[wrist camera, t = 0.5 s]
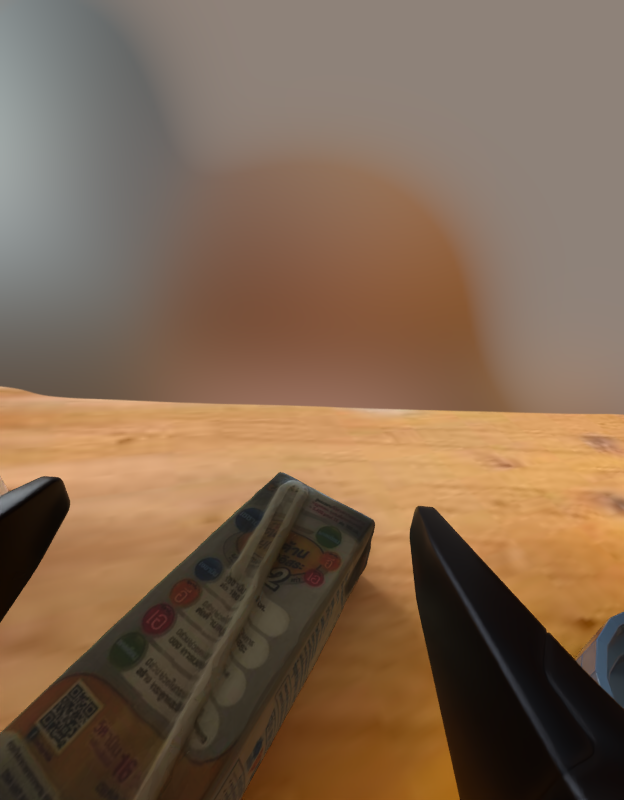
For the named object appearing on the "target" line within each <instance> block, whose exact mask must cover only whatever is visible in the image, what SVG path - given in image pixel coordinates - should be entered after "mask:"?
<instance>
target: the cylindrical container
mask: <svg viewBox="0 0 624 800" xmlns="http://www.w3.org/2000/svg"><path fill="white" fill-rule="evenodd" d="M7 492H9V491H8V489H7V487H6V485H5V484H4V482H3V480H2V478H1V477H0V496H1V495H3V494H5V493H7Z"/></svg>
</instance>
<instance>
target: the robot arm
mask: <svg viewBox="0 0 624 800" xmlns="http://www.w3.org/2000/svg"><path fill="white" fill-rule="evenodd" d="M69 508H70V500H69V497H68V494H67V491H66V488H65V485H64V483H63V481H62V480H61V479H60V478H58V477H48V476H44V477H40V478H38V479H36V480H33V481H31V482H29V483H27V484H25V485H23V486H20V487H18V488H16V489H14V490H12V491H10V492H7V493H5V494H3V495H1V496H0V622H1V621H2V619H3V618H4V616H5V615H6V613H7V612H8V610H9V609H10V607H11V606H12V605H13V603H14V602H15V600H16V599H17V597H18V596H19V594H20V593H21V591H22V590H23V588H24V587H25V585H26V584H27V582H28V581H29V579H30V578H31V576H32V575H33V573H34V572H35V570H36V569H37V567H38V565H39V563H40V562H41V560H42V558H43V557H44V555H45V553H46V551H47V549H48V547H49V546H50V544H51V542H52V540H53V538H54V536H55V535H56V533H57V531H58V529H59V527H60V526H61V524H62V522H63V520H64V518H65V516H66V515H67V513H68V511H69ZM410 545H411V554H412V564H413V573H414V583H415V592H416V600H417V605H418V610H419V615H420V619H421V624H422V628H423V633H424V638H425V642H426V647H427V651H428V656H429V660H430V665H431V669H432V674H433V678H434V683H435V688H436V692H437V697H438V701H439V706H440V710H441V715H442V719H443V724H444V729H445V733H446V738H447V742H448V747H449V751H450V756H451V760H452V765H453V770H454V774H455V779H456V783H457V788H458V792H459V797H460V800H624V708H622V707H621V706H620V705H619V704H618V703H617V702H616V701H615V700H614V699H613V698H612V697H611V696H610V695H609V694H608V693H607V692H606V691H605V690H604V689H603V688H602V687H601V686H600V685H599V684H598V683H597V682H596V681H595V680H594V679H593V678H592V677H591V676H590V675H589V674H588V673H587V672H586V671H585V670H584V669H583V668H582V667H581V666H580V665H579V664H578V663H577V661H576V660H575V659H574V658H573V657H572V656H571V655H570V654H569V653H568V652H567V651H566V650H565V649H564V648H563V647H562V646H561V645H560V643H559V642H558V641H557V640H556V639H555V638H554V637H553V636H552V635H551V634H550V633H546V629H545V627H544V626H543V625H542V624H541V623H540V622H539V621H538V620H537V619H536V618H535V617H534V615H533V614H532V613H531V612H530V611H529V610H528V609H527V608H526V607H525V606H524V605H523V604H522V602H521V601H520V600H519V599H518V598H517V597H516V596H515V595H514V594H513V593H512V592H511V591H510V589H509V588H508V587H507V586H506V585H505V584H504V583H503V582H502V581H501V580H500V579H499V578H498V576H497V575H496V574H495V573H494V572H493V571H492V570H491V569H490V568H489V567H488V566H487V565H486V563H485V562H484V561H483V560H482V559H481V558H480V557H479V556H478V555H477V554H476V553H475V552H474V550H473V549H472V548H471V547H470V546H469V545H468V544H467V543H466V542H465V541H464V540H463V539H462V537H461V536H460V535H459V534H458V533H457V532H456V531H455V530H454V529H453V528H452V527H451V526H450V524H449V523H448V522H447V521H446V520H445V519H444V518H443V517H442V516H441V515H440V514H439V513H438V511H437V510H436V509H434V508H433V507H425V506H418V507H416V509H415V512H414V516H413V520H412V524H411V528H410Z"/></svg>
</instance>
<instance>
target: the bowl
mask: <svg viewBox="0 0 624 800" xmlns="http://www.w3.org/2000/svg"><path fill="white" fill-rule="evenodd" d="M575 660H576V661H577V663H578V664H579V665H580V666H581V667H582V668H583V669H584V670H585V671H586V672H587V673H588V674H589V675H590V676H591V677H592V678H593V679H594V680H595V681H596V682H597V683H598V684H599V685H600V686H601V687H602V688H603V689H604V690H605V691H606V692H607V693H608V694H609V695H610V696H611V697H612V698H613V699H614V700H615V701H616V702H617V703H618V704H619V705H620V706H621V707H622V708H624V612H622V613H620V614H617V615H615V616H613V617H610V618H609V619H608V620H607V622H606V623H605V624H604V625H603V626H602V627H601V628H600V629H599V630H598V631H597V633H596V634H595V635H594V636H593V637H592V638H591V639H590V640H589V641H588V642H587V644H586V645H585V646H584V647H583V648H582V650H581V651H580V653H579V654H578V656H577V657H576V659H575Z"/></svg>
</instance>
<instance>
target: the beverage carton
mask: <svg viewBox="0 0 624 800" xmlns="http://www.w3.org/2000/svg"><path fill="white" fill-rule="evenodd" d="M374 528H375V522H374V520H372V519H371V518H369V517H367V516H365V515H363V514H362V513H360V512H358V511H356V510H354V509H352V508H350V507H348V506H346V505H344V504H342V503H340V502H338V501H336V500H334V499H332V498H330V497H328V496H326V495H325V494H323V493H321V492H319V491H317V490H315V489H313V488H311V487H309V486H307V485H305V484H304V483H302V482H300V481H299V480H297V479H295V478H293V477H291V476H289V475H287V474H285V473H281V472H279V473H278V474H277V475H276V476H275V477H274V478H273V479H272V480H271V481H270V482H269V483H267V484H266V485H265V486H264V487H263V488H262V489H260V490H259V491H258V492H257V493H256V494H255V495H254V496H253V497H252V498H251V499H250V500H249V501H248V502H246V503H245V504H244V505H243V506H242V507H241V508H239V509H238V510H237V511H236V512H235V513H234V514H233V515H232V516H231V517H230V518H229V519H228V520H227V521H226V522H225V523H224V524H222V525H221V526H220V527H219V528H218V529H217V530H216V531H215V532H213V533H212V534H211V535H210V536H209V537H208V538H207V539H206V540H205V541H204V542H203V543H202V544H201V545H200V546H199V547H198V548H197V549H196V550H195V551H194V552H193V553H191V554H190V555H189V556H188V557H187V558H186V559H185V560H184V561H183V562H182V563H180V564H179V565H178V566H177V567H176V568H175V569H174V570H173V571H171V572H170V573H169V574H168V575H167V576H166V577H165V578H164V579H163V580H162V581H161V582H160V583H158V584H157V585H156V586H155V587H154V588H153V589H152V590H151V591H150V592H149V593H148V594H147V595H146V596H145V597H144V598H143V599H142V600H141V601H140V602H139V603H137V604H136V605H135V606H134V607H133V608H132V609H131V610H130V611H129V612H128V613H127V614H126V615H125V616H124V617H122V618H121V619H120V620H119V621H118V622H117V623H116V624H115V625H114V626H113V627H112V628H111V629H110V630H108V631H107V632H106V633H105V634H104V635H103V636H102V637H101V638H100V639H99V640H98V641H97V642H96V643H95V644H94V645H93V646H92V647H91V648H90V649H89V650H88V651H87V652H86V653H85V654H83V655H82V656H81V657H80V658H79V659H78V660H77V661H76V662H75V663H74V664H73V665H71V666H70V667H69V668H68V669H67V670H66V671H65V672H64V673H63V674H62V675H61V676H60V677H59V678H58V679H57V680H56V681H55V682H54V683H53V684H52V685H50V686H49V687H48V688H47V689H46V690H45V691H44V692H43V693H42V694H41V695H40V696H39V697H38V698H37V699H36V700H35V701H34V702H32V703H31V704H30V705H29V706H28V707H27V708H26V709H25V710H24V711H23V712H22V713H21V714H20V715H19V716H18V717H17V718H16V719H15V720H14V721H12V722H11V723H10V724H9V725H8V726H7V727H6V728H5V729H4V730H3V731H2V732H1V733H0V800H241V798H242V796H243V794H244V792H245V790H246V788H247V786H248V784H249V783H250V781H251V779H252V777H253V775H254V774H255V772H256V770H257V768H258V766H259V765H260V763H261V761H262V759H263V757H264V756H265V754H266V752H267V750H268V748H269V747H270V745H271V743H272V741H273V739H274V737H275V735H276V734H277V732H278V730H279V728H280V727H281V725H282V723H283V721H284V719H285V717H286V715H287V714H288V712H289V710H290V708H291V707H292V705H293V703H294V701H295V699H296V697H297V695H298V694H299V692H300V690H301V689H302V687H303V685H304V683H305V681H306V679H307V677H308V675H309V674H310V672H311V670H312V669H313V667H314V665H315V663H316V661H317V659H318V657H319V655H320V653H321V651H322V649H323V647H324V645H325V643H326V641H327V639H328V637H329V635H330V633H331V632H332V630H333V628H334V626H335V624H336V622H337V620H338V618H339V616H340V614H341V612H342V609H343V607H344V604H345V602H346V600H347V598H348V596H349V595H350V593H351V592H352V589H353V587H354V585H355V584H356V582H357V580H358V579H359V577H360V575H361V574H362V572H363V571H364V569H365V567H366V565H367V560H368V556H369V552H370V548H371V539H372V536H373V533H374Z"/></svg>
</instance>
